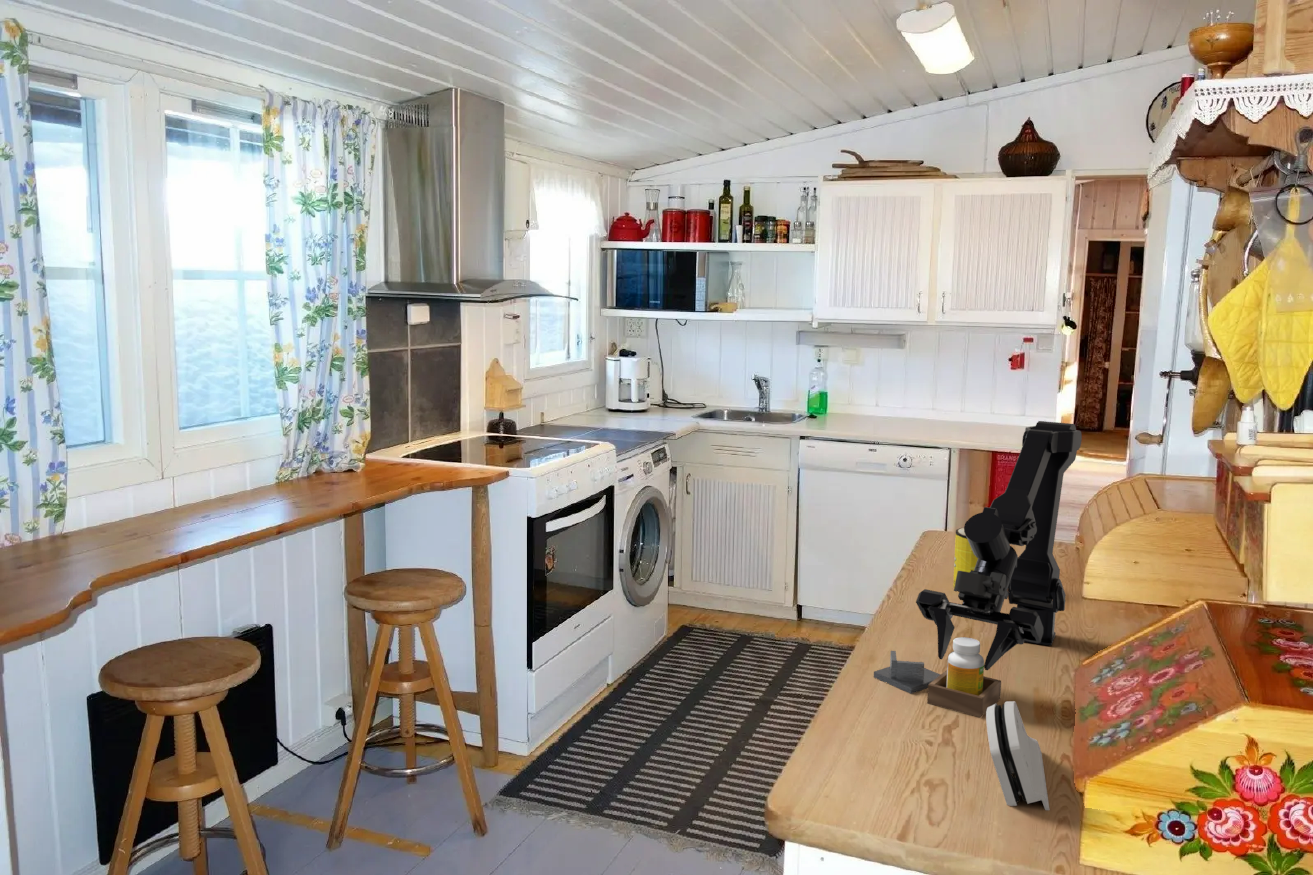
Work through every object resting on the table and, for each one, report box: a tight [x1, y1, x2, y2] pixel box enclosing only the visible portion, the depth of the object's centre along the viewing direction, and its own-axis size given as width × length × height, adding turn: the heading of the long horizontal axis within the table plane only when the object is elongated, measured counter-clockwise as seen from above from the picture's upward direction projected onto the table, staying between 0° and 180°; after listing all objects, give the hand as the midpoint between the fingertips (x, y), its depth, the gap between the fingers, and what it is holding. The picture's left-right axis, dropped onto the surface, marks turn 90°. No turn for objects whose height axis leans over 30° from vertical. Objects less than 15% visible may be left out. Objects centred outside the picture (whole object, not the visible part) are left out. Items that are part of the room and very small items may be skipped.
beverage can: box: [952, 527, 978, 588], centre depth 212 cm, size 9×9×12 cm
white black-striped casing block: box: [985, 700, 1050, 811], centre depth 134 cm, size 17×5×10 cm, turn 163°
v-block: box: [873, 650, 942, 695], centre depth 166 cm, size 8×8×4 cm
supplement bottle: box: [946, 636, 985, 696], centre depth 157 cm, size 5×5×10 cm
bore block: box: [926, 669, 1002, 718], centre depth 158 cm, size 8×8×3 cm
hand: (962, 663), depth 156 cm, fingers open, 7 cm apart
